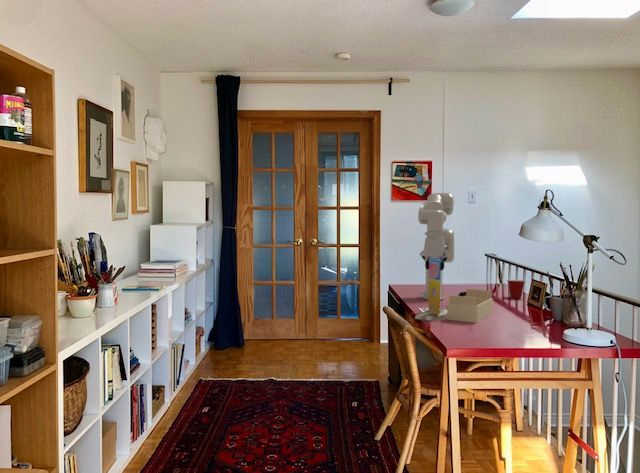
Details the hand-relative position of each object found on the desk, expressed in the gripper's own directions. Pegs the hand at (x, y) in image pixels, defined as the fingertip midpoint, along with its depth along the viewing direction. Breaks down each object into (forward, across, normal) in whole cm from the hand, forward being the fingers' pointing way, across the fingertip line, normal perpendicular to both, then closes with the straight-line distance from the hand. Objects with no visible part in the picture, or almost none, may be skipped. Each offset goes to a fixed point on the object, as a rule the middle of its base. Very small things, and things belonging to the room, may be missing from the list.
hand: (434, 269), depth 263 cm
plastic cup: (+25, +23, +79) cm, 86 cm away
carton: (+24, +16, +9) cm, 30 cm away
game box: (+22, 0, 0) cm, 22 cm away
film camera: (+25, +3, +31) cm, 40 cm away
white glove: (+24, 0, 0) cm, 24 cm away
